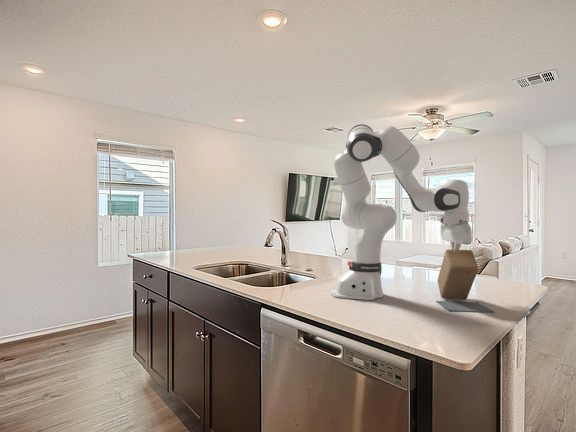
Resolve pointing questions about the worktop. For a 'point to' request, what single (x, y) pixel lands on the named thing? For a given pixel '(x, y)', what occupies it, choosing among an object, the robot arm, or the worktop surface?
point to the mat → (464, 306)
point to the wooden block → (457, 274)
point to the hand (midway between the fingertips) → (455, 253)
